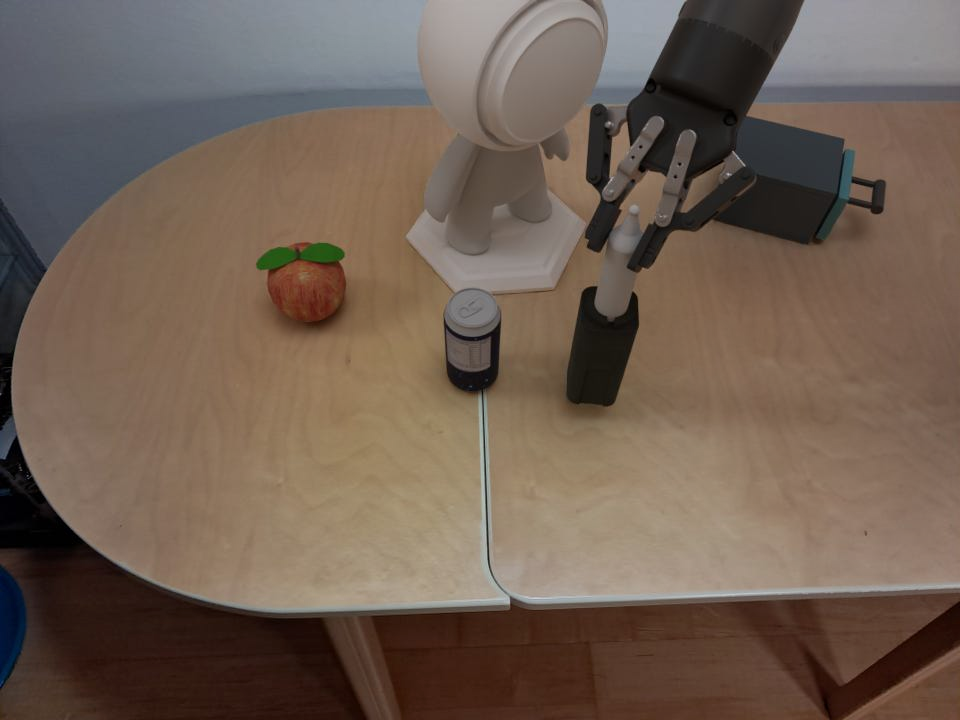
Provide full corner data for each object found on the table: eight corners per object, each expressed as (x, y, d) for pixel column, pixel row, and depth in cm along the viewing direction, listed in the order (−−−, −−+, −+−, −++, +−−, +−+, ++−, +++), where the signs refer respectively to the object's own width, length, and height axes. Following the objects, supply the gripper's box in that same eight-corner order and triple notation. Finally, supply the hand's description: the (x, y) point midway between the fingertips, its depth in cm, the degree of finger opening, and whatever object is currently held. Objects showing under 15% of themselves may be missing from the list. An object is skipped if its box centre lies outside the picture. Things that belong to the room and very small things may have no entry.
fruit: (350, 335, 80) (336, 278, 72) (267, 336, 80) (243, 279, 72) (356, 278, 85) (344, 218, 77) (277, 278, 85) (256, 218, 77)
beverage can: (508, 380, 77) (513, 312, 67) (465, 405, 75) (464, 339, 65) (479, 345, 80) (480, 275, 70) (437, 368, 78) (431, 300, 68)
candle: (615, 366, 74) (668, 184, 53) (616, 408, 71) (672, 233, 50) (567, 362, 74) (600, 180, 53) (565, 403, 71) (600, 228, 51)
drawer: (869, 201, 92) (895, 160, 86) (864, 250, 87) (891, 210, 81) (745, 170, 95) (762, 128, 89) (733, 216, 90) (750, 175, 84)
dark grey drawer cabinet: (816, 191, 94) (845, 138, 87) (807, 244, 89) (836, 193, 81) (723, 167, 97) (743, 114, 90) (708, 218, 91) (728, 166, 84)
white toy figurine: (486, 329, 81) (493, 47, 52) (382, 213, 91) (339, -76, 62) (615, 254, 87) (686, -33, 58) (505, 154, 98) (518, -132, 69)
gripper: (820, 90, 51) (701, 302, 55) (649, 25, 55) (551, 226, 60) (823, 57, 44) (686, 302, 49) (627, -13, 49) (519, 216, 53)
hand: (612, 259), depth 54 cm, fingers closed on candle, 3 cm apart
